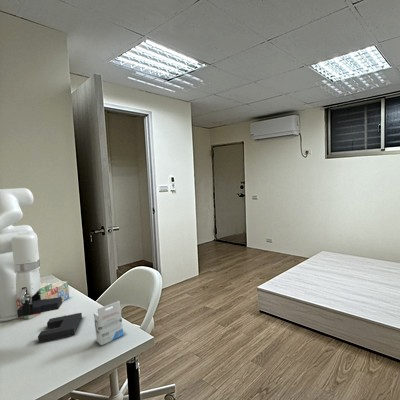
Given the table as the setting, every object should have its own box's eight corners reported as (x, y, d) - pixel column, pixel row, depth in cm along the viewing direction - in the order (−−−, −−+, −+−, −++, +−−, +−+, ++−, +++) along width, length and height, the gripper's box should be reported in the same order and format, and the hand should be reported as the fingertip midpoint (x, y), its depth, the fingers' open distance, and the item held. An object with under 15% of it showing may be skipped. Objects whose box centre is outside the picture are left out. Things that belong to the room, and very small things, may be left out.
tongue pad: (17, 317, 100) (16, 310, 100) (25, 308, 106) (24, 302, 106) (57, 310, 105) (56, 303, 104) (62, 302, 111) (62, 296, 111)
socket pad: (38, 342, 104) (37, 336, 104) (50, 324, 117) (49, 318, 117) (74, 334, 109) (73, 328, 109) (82, 318, 122) (81, 312, 121)
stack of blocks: (59, 296, 145) (58, 275, 143) (69, 298, 143) (67, 276, 142) (17, 318, 124) (15, 292, 122) (28, 319, 123) (26, 294, 121)
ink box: (118, 330, 111) (115, 297, 109) (123, 335, 107) (120, 300, 106) (95, 341, 104) (92, 305, 103) (100, 346, 101) (97, 309, 99)
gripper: (24, 260, 109) (29, 301, 111) (4, 275, 93) (10, 323, 95) (47, 258, 112) (51, 298, 114) (30, 272, 96) (36, 318, 98)
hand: (32, 309), depth 104 cm, fingers closed on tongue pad, 7 cm apart
